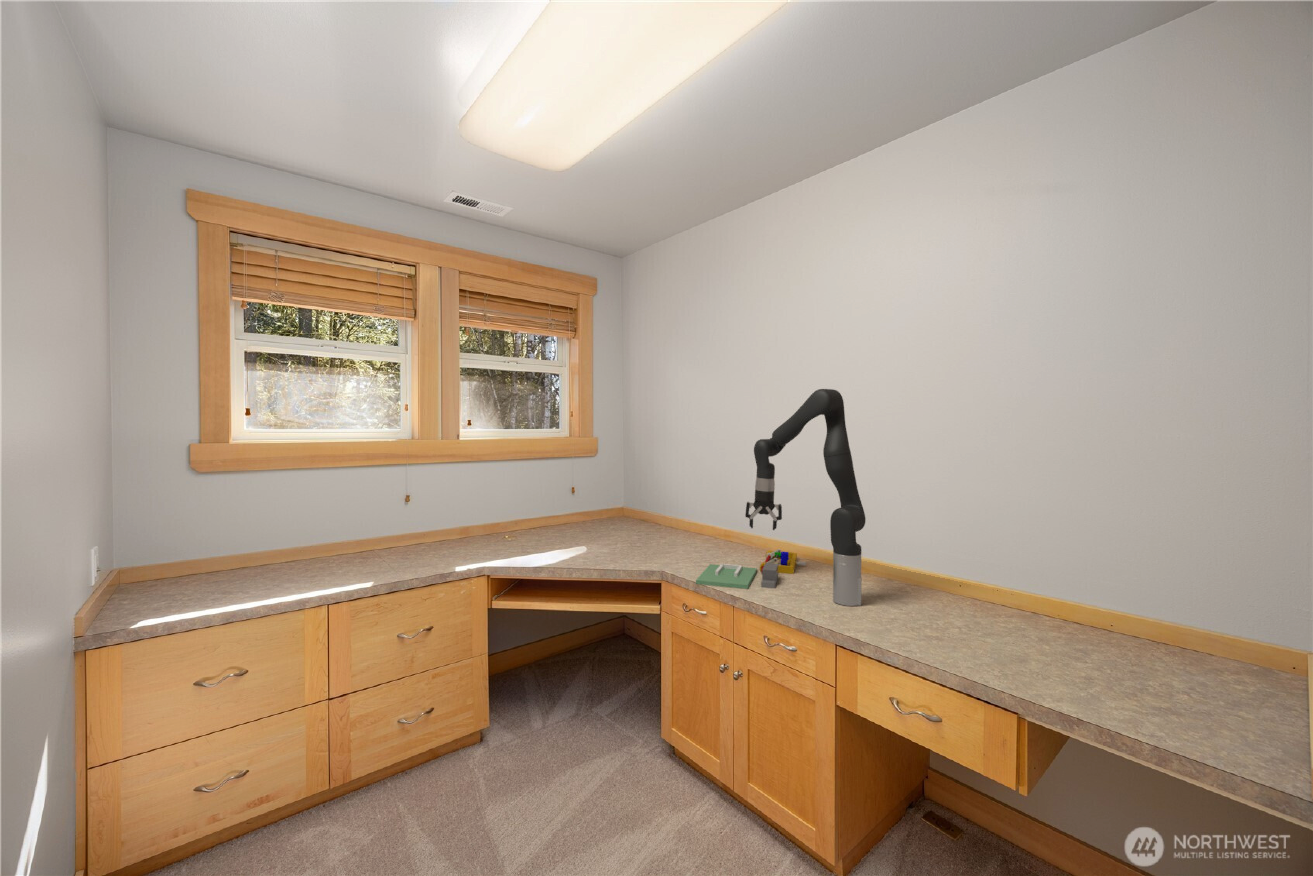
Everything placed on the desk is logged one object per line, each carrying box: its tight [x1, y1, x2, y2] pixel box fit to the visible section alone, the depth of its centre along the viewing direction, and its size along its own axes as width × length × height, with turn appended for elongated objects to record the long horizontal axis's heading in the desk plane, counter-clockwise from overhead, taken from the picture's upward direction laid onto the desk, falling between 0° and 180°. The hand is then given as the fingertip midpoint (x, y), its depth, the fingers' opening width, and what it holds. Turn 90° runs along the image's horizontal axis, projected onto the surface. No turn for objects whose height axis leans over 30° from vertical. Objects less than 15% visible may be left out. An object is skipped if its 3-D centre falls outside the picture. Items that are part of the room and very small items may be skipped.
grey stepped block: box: [760, 563, 779, 589], centre depth 206 cm, size 13×5×6 cm, turn 161°
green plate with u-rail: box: [695, 563, 758, 590], centre depth 213 cm, size 20×24×3 cm
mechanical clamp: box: [759, 548, 807, 575], centre depth 230 cm, size 18×6×30 cm
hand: (762, 528), depth 212 cm, fingers open, 8 cm apart
